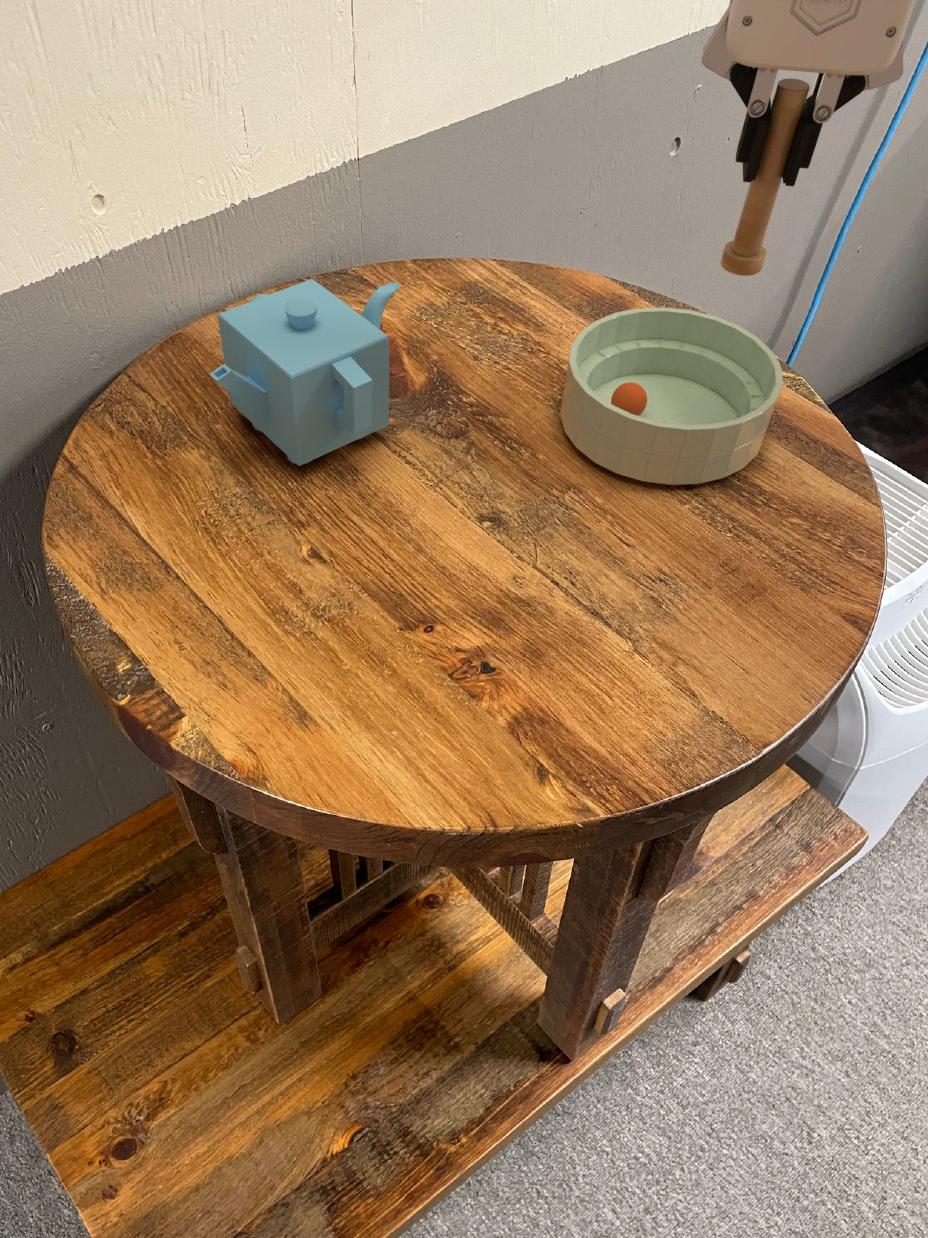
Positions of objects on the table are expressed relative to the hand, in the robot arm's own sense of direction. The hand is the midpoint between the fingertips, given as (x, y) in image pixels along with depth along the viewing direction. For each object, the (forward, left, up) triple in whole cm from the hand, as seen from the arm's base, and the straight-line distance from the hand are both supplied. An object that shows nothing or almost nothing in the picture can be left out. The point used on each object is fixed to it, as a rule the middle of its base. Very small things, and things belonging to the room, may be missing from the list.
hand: (768, 172), depth 68 cm
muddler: (0, 0, -7) cm, 7 cm away
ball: (+6, -1, -20) cm, 21 cm away
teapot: (+32, +5, -22) cm, 39 cm away
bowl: (+3, -1, -22) cm, 22 cm away
